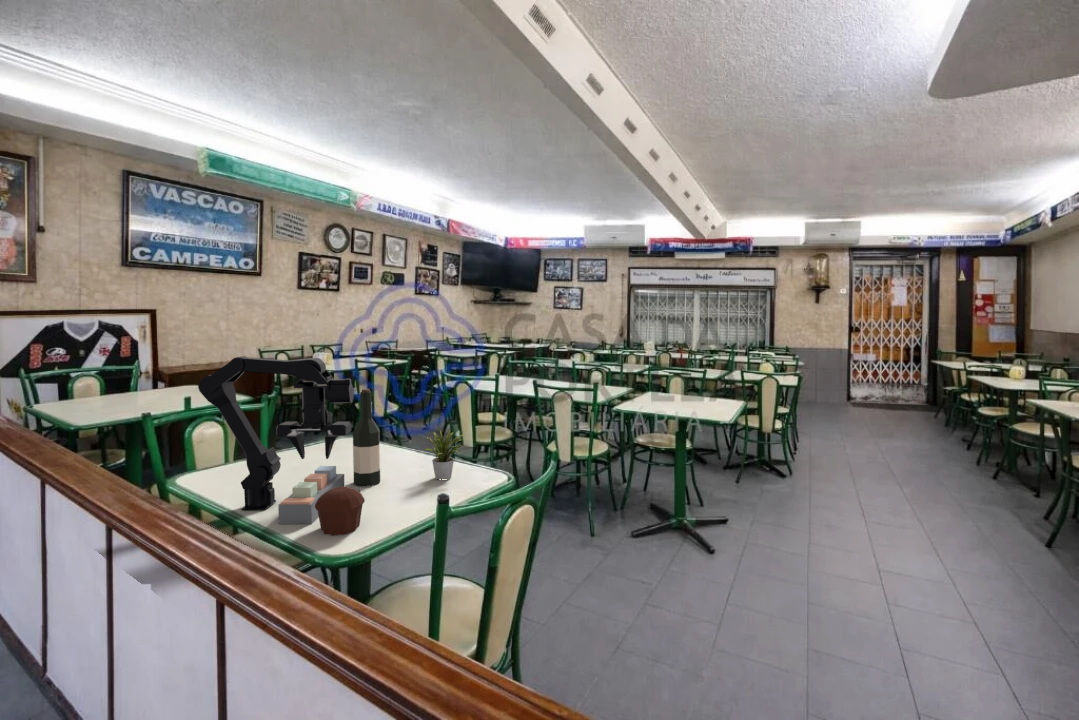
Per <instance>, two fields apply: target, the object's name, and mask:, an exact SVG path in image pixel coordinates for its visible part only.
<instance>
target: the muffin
mask: <svg viewBox="0 0 1079 720" xmlns="http://www.w3.org/2000/svg"><path fill="white" fill-rule="evenodd" d="M364 503H365V497H364V496H363V494H362V493H361V492H360V491H359V490H358V489H355V488H352V487H349V486H345V487H338V488H333V489H330V490H329V491H327V492H325V493H324V494H323V495H321V496H320V497H319V499H318V500H317V502H316V504H315V508H316V510H317V511H318V516H319V517H318V519H319V525H320V531H321V530H322V531H321V532H323V535H326V536H327V535H329V536H333V537H334V536H341V535H343V536H344V535H347V534H349V533H352V532H355V531H356V530H357V529H358V528H359V527H360V523H361V517H362V511H363V504H364Z"/></svg>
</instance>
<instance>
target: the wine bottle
mask: <svg viewBox="0 0 1079 720" xmlns="http://www.w3.org/2000/svg"><path fill="white" fill-rule="evenodd" d="M359 396H360V397H359V398H360V400H359V402H360V403H359V404H360V405H359V406H360V409H359V410H360V419H359V421H358V423H357V425H356V426H355V428H354V430H353V431H352V458H353V459H352V460H353V461H352V462H353V463H352V465H353V485H354V486H357V487H359V488H362V487H363V486H365V487H373V486H377V485H378V484H380V482H381V441H380V440H381V439H380V438H381V436H380V435H381V430H380V428H379V426H378V424H377V423H376V422H375V421H374V419H373V415H372V414H373V413H372V391H371V390H370V388H362V389H361V391H360V393H359ZM372 485H373V486H372ZM363 488H364V487H363Z"/></svg>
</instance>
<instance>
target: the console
mask: <svg viewBox="0 0 1079 720" xmlns="http://www.w3.org/2000/svg"><path fill="white" fill-rule="evenodd" d="M338 487H346V486H345V473H336V477H335V478H334V479H333V480H332V481H327V486H325V487H324V488H323V489H322V490H317V495H316V496H314V497H313V498H293V493H292V494H290V495H288V496H287V497H286V498H284V499H283V500H281V502H280V503H279V504H278V505H277V507H278V509H277V510H278V511H277V512H278V525H312V524H313V523H314V522H315V521H317V519H319V516H318V511H317V510H316V508H315V504H316V502H317V500H318V499H319V497H320V496H321V495H323V494H324V493H325V492H327V491H329V490H330V489H333V488H338Z"/></svg>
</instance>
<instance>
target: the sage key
mask: <svg viewBox="0 0 1079 720" xmlns="http://www.w3.org/2000/svg"><path fill="white" fill-rule="evenodd" d="M292 494H293V498H313V497H314V496H316V495H317V482H304V481H300V482H298V483H297V484H295V485H294V486H292Z"/></svg>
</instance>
